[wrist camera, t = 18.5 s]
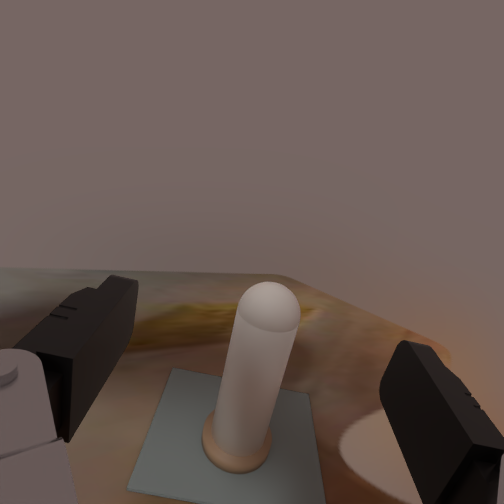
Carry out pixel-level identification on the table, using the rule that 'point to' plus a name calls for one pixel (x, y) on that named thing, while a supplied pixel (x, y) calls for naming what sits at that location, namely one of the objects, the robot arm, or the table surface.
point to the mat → (207, 474)
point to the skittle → (251, 379)
